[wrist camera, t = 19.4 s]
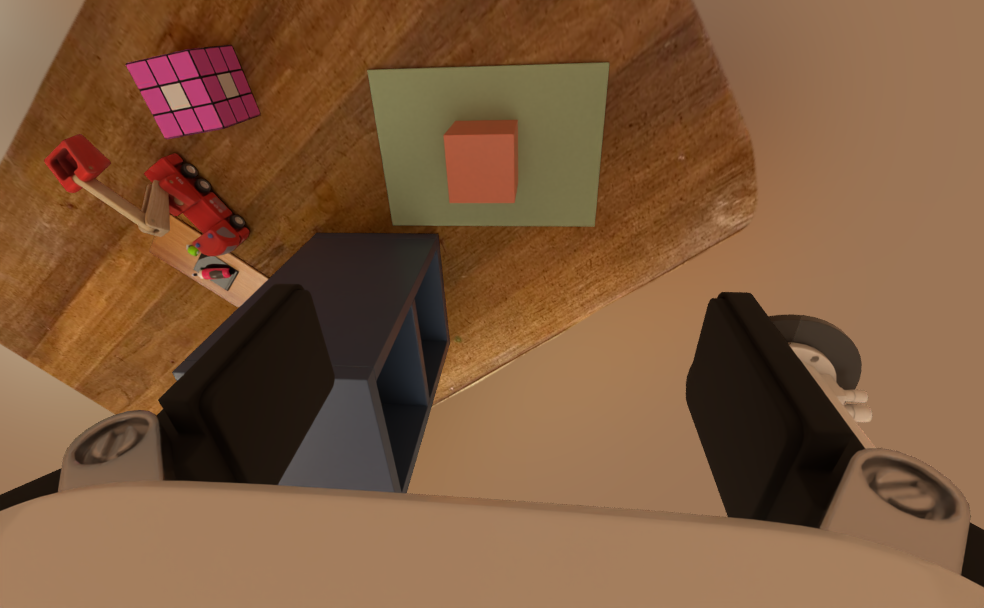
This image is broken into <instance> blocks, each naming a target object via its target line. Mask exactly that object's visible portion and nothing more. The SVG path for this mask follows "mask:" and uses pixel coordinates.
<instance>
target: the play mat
mask: <svg viewBox="0 0 984 608" xmlns="http://www.w3.org/2000/svg"><path fill="white" fill-rule="evenodd" d="M367 71H368V77H369V83H370V89H371V95H372V102H373V108H374V114H375V120H376V126H377V132H378V138H379V144H380V150H381V156H382V162H383V169H384V175H385V181H386V187H387V193H388V199H389V205H390V211H391V217H392V223H393V225H410V226H595V216H596V205H597V194H598V183H599V172H600V161H601V150H602V139H603V128H604V117H605V106H606V95H607V84H608V73H609V62H600V63H568V64H536V65H504V66H472V67H440V68H408V69H376V70H367ZM476 120H518V186H517V192H516V199H515V203H449V192H448V181H447V170H446V159H445V148H444V136H443V135H444V134H445V133H446V132H447V130H448V129H449V128H450V127H451V126H452V124H453V123H454V122H455V121H476Z"/></svg>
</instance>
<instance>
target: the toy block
mask: <svg viewBox="0 0 984 608" xmlns="http://www.w3.org/2000/svg"><path fill="white" fill-rule="evenodd" d="M443 136H444V148H445V159H446V170H447V181H448V192H449V203H515V199H516V192H517V186H518V120H476V121H455V122H454V123H453V124H452V126H451V127H450V128H449V129H448V130H447V132H446V133H445V134H444V135H443Z"/></svg>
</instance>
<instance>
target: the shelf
mask: <svg viewBox="0 0 984 608" xmlns="http://www.w3.org/2000/svg"><path fill="white" fill-rule="evenodd" d="M274 284H300V285H302V287H303V288H304V290H308V291H309V292H310V293H311V296H312V299H313V302H314V306H315V309H316V313H317V316H318V319H319V323H320V326H321V330H322V333H323V337H324V340H325V343H326V347H327V350H328V354H329V357H330V360H331V364H332V367H333V371H334V375H335V381H334V386H333V388H332V390H331V392H330V394H329V395H328V397H327V399H326V401H325V403H324V404H323V406H322V408H321V410H320V411H319V413H318V415H317V417H316V418H315V420H314V422H313V424H312V425H311V427H310V429H309V431H308V433H307V434H306V436H305V438H304V440H303V441H302V443H301V445H300V447H299V448H298V450H297V452H296V454H295V455H294V457H293V459H292V461H291V463H290V464H289V466H288V468H287V470H286V471H285V473H284V475H283V477H282V478H281V480H280V482H279V484H278V485H281V486H297V487H313V488H330V489H346V490H362V491H378V492H393V493H407V490H408V486H409V483H410V480H411V476H412V473H413V469H414V466H415V462H416V459H417V455H418V452H419V448H420V445H421V442H422V438H423V435H424V431H425V428H426V424H427V421H428V417H429V413H430V410H431V407H432V404H433V400H434V397H435V393H436V390H437V386H438V383H439V379H440V376H441V372H442V369H443V365H444V362H445V359H446V355H447V352H448V348H449V345H450V338H449V329H448V320H447V311H446V301H445V292H444V283H443V273H442V264H441V255H440V246H439V236H438V234H413V233H316V234H315V235H314V236H313V237H312V238H311V239H310V240H309V241H308V242H307V243H305V244H304V245H303V246H302V247H301V248H300V249H299V250H298V251H297V252H296V253H295V254H294V255H293V256H292V257H291V258H290V259H289V260H288V261H287V262H286V263H285V264H284V265H283V266H282V267H281V268H280V269H278V270H277V271H276V272H275V273H274V274H273V275H272V276H271V277H270V278H269V279H268V280H267V281H266V282H265V283H264V284H263V285H262V286H261V287H260V288H259V289H258V290H257V291H256V292H255V293H254V294H253V295H252V296H250V297H249V298H248V299H247V300H246V301H245V302H244V303H243V304H242V305H241V306H240V307H239V308H238V309H237V310H236V311H235V312H234V313H233V314H232V315H231V316H230V317H229V318H228V319H227V320H226V321H225V322H223V323H222V324H221V325H220V326H219V327H218V328H217V329H216V330H215V331H214V332H213V333H212V334H211V335H210V336H209V337H208V338H207V339H206V340H205V341H204V342H203V343H202V344H201V345H200V346H199V347H198V348H196V349H195V350H194V351H193V352H192V353H191V354H190V355H189V356H188V357H187V358H186V359H185V361H183V362H182V363H181V364H180V365H179V366H178V367H177V368H176V369H175V370H174V371H173V372H172V373H173V375H174V377H175V378H176V380H177V381H178V380H179V379H180V378H181V377H182V376H183V375H184V374H185V373H186V372H187V371H188V370H189V369H190V368H191V367H192V366H193V365H194V364H195V363H196V362H197V361H198V360H199V359H200V358H201V357H202V356H203V355H204V354H205V353H206V352H207V351H208V350H209V349H210V348H211V347H212V346H213V345H214V344H215V343H216V342H217V341H218V340H219V339H220V337H221V336H222V335H223V334H224V333H225V332H226V331H227V330H228V329H229V328H230V327H231V326H232V325H233V324H234V323H235V322H236V321H237V320H238V319H239V318H240V317H241V316H242V315H243V314H244V313H245V312H246V311H247V310H248V309H249V308H250V307H251V306H252V305H253V304H254V303H255V302H256V301H257V300H258V299H259V298H260V297H261V296H262V295H263V294H264V293H265V292H266V291H267V290H268V289H269V288H270V287H271V286H273V285H274Z"/></svg>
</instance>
